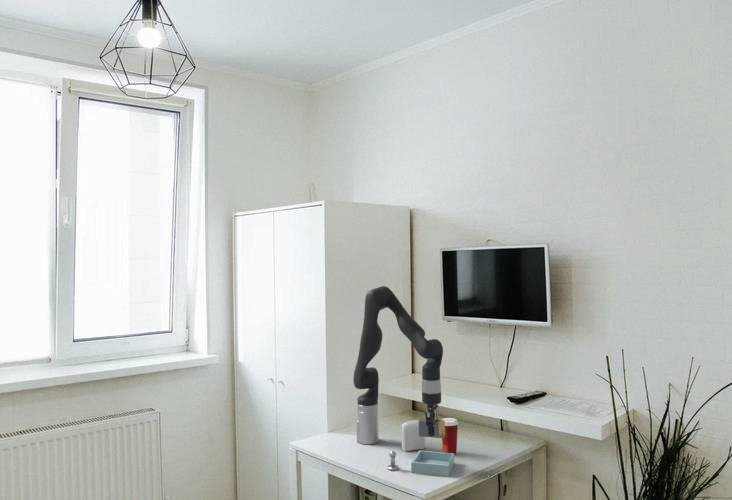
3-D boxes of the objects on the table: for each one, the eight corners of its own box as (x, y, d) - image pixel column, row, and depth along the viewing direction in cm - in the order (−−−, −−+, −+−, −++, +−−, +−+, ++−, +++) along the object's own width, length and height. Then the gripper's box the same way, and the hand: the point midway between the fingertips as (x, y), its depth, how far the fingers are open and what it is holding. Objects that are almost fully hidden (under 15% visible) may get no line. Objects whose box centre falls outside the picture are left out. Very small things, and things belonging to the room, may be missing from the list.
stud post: (386, 470, 227) (385, 452, 227) (389, 466, 231) (388, 448, 231) (396, 471, 225) (396, 453, 225) (399, 467, 230) (399, 449, 230)
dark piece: (444, 438, 225) (443, 422, 225) (418, 436, 228) (418, 421, 228) (445, 435, 229) (445, 420, 229) (421, 433, 232) (420, 418, 232)
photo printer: (404, 452, 247) (403, 423, 247) (400, 449, 251) (399, 420, 251) (426, 449, 250) (425, 420, 250) (422, 446, 254) (421, 418, 254)
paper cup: (461, 451, 247) (460, 418, 247) (456, 457, 240) (455, 423, 240) (443, 449, 250) (442, 416, 250) (438, 454, 243) (437, 421, 243)
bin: (411, 472, 224) (411, 462, 224) (419, 460, 237) (419, 450, 237) (448, 476, 219) (448, 465, 219) (454, 463, 233) (454, 453, 233)
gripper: (425, 386, 236) (426, 428, 236) (418, 394, 223) (419, 438, 223) (444, 387, 234) (445, 429, 234) (437, 395, 220) (438, 440, 220)
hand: (432, 433), depth 228 cm, fingers closed on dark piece, 4 cm apart
